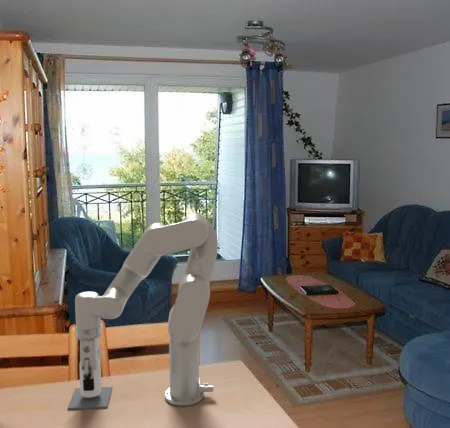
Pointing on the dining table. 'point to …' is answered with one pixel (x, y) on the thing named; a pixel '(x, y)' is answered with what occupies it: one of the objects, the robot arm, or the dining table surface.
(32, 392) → the dining table surface
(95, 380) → the can
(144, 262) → the robot arm
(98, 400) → the mat
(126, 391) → the dining table surface
